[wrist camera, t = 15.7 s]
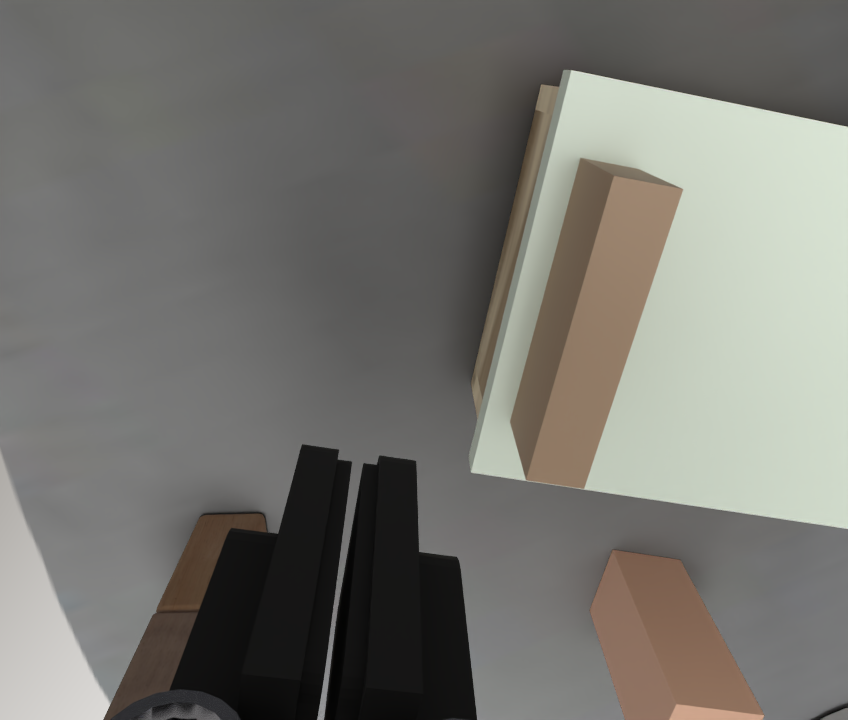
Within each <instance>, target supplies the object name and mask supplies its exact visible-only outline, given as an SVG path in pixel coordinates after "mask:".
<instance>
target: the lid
mask: <svg viewBox="0 0 848 720" xmlns="http://www.w3.org/2000/svg"><path fill="white" fill-rule="evenodd" d="M469 463H470V470H471V473H477V474H484V475H490V476H497V477H504V478H510V479H517V480H524V481H531V482H537V483H544V484H551V485H557V486H564V487H571V488H577V489H584V490H591V491H598V492H604V493H611V494H618V495H624V496H631V497H638V498H645V499H651V500H658V501H665V502H671V503H678V504H685V505H691V506H698V507H705V508H712V509H718V510H725V511H732V512H738V513H745V514H752V515H758V516H765V517H772V518H779V519H785V520H792V521H799V522H805V523H812V524H819V525H826V526H832V527H839V528H846V529H848V127H846V126H841V125H836V124H831V123H826V122H821V121H816V120H812V119H807V118H802V117H797V116H792V115H787V114H782V113H778V112H773V111H768V110H763V109H758V108H753V107H748V106H744V105H739V104H734V103H729V102H724V101H719V100H714V99H710V98H705V97H700V96H695V95H690V94H685V93H680V92H676V91H671V90H666V89H661V88H656V87H651V86H646V85H641V84H637V83H632V82H627V81H622V80H617V79H612V78H607V77H603V76H598V75H593V74H588V73H583V72H578V71H573V70H563V74H562V78H561V82H560V86H559V90H558V94H557V98H556V103H555V107H554V111H553V115H552V119H551V123H550V127H549V131H548V135H547V139H546V143H545V147H544V151H543V156H542V160H541V164H540V168H539V172H538V176H537V180H536V184H535V188H534V192H533V196H532V200H531V204H530V208H529V213H528V217H527V221H526V225H525V229H524V233H523V237H522V241H521V245H520V249H519V253H518V257H517V261H516V266H515V270H514V274H513V278H512V282H511V286H510V290H509V294H508V298H507V302H506V306H505V310H504V314H503V318H502V323H501V327H500V331H499V335H498V339H497V343H496V347H495V351H494V355H493V359H492V363H491V367H490V371H489V376H488V380H487V384H486V388H485V392H484V396H483V400H482V404H481V408H480V412H479V416H478V420H477V424H476V428H475V433H474V437H473V441H472V445H471V449H470V453H469Z"/></svg>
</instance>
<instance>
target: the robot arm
mask: <svg viewBox="0 0 848 720" xmlns="http://www.w3.org/2000/svg"><path fill="white" fill-rule="evenodd" d="M338 453H339V450H337V449H330V448H323V447H317V446H310V445H302V447H301V450H300V454H299V458H298V461H297V465H296V469H295V473H294V476H293V480H292V484H291V488H290V492H289V495H288V499H287V503H286V507H285V510H284V514H283V518H282V522H281V526H280V529H279V533H278V534H275V533H268V532H260V531H252V530H244V529H237V528H231V529H230V530H229V532H228V534H227V536H226V539H225V541H224V544H223V547H222V549H221V552H220V555H219V557H218V560H217V563H216V566H215V568H214V571H213V574H212V576H211V579H210V582H209V584H208V587H207V590H206V592H205V595H204V598H203V600H202V603H201V606H200V609H199V611H198V614H197V617H196V619H195V622H194V625H193V627H192V630H191V633H190V635H189V638H188V641H187V644H186V646H185V649H184V652H183V654H182V657H181V660H180V662H179V665H178V668H177V670H176V673H175V676H174V679H173V681H172V684H171V687H170V689H169V691H166V692H159V693H155V694H152V695H150V696H148V697H145V698H143V699H140V700H138V701H136V702H133V703H132V704H130V705H129V706H127V707H126V708H125V709H123V710H122V711H121V712H119V713H118V714H116V715H115V716H114V717H112V718H111V719H110V720H317V716H318V711H319V705H320V699H321V693H322V686H323V680H324V673H325V666H326V659H327V651H328V643H329V636H330V628H331V620H332V613H333V605H334V597H335V589H336V582H337V574H338V566H339V558H340V551H341V543H342V535H343V528H344V520H345V512H346V504H347V497H348V489H349V481H350V473H351V466H352V462H351V461H344V460H337V459H338ZM324 720H477V715H476V706H475V697H474V688H473V679H472V669H471V660H470V651H469V642H468V633H467V624H466V615H465V606H464V597H463V587H462V578H461V569H460V564H459V560H458V558H457V557H452V556H444V555H437V554H429V553H421V552H419V538H418V504H417V470H416V461H414V460H407V459H400V458H393V457H386V456H379V459H378V463H377V465H373V464H366V463H364V464H363V468H362V474H361V480H360V485H359V491H358V497H357V503H356V508H355V514H354V520H353V525H352V531H351V537H350V543H349V548H348V554H347V560H346V565H345V571H344V577H343V582H342V588H341V594H340V600H339V606H338V612H337V619H336V626H335V634H334V643H333V651H332V659H331V668H330V676H329V684H328V692H327V701H326V709H325V717H324ZM820 720H848V708H844V709H842V710H839V711H837V712H835V713H832V714H830V715H827V716H826V717H824V718H822V719H820Z"/></svg>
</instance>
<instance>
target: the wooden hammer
mask: <svg viewBox="0 0 848 720" xmlns="http://www.w3.org/2000/svg"><path fill="white" fill-rule="evenodd" d="M231 528H237V529H244V530H252V531H260V532H267V530H266V523H265V518H264V516H263V515H262V514H259V513H255V514H219V515H204V516H201V517H200V518H199V520H198V522H197V524H196V526H195V528H194V530H193V533H192V535H191V537H190V539H189V541H188V543H187V545H186V547H185V550H184V552H183V554H182V556H181V558H180V560H179V562H178V564H177V566H176V569H175V571H174V573H173V575H172V577H171V579H170V581H169V583H168V586H167V588H166V590H165V592H164V594H163V596H162V598H161V600H160V603H159V605H158V607H157V610H156V612H157V613H155V614H154V615H153V616H152V618H151V620H150V622H149V624H148V626H147V629H146V631H145V633H144V635H143V637H142V639H141V641H140V643H139V645H138V648H137V650H136V652H135V654H134V656H133V658H132V660H131V662H130V664H129V667H128V669H127V671H126V673H125V675H124V677H123V679H122V681H121V684H120V686H119V688H118V690H117V692H116V694H115V696H114V698H113V700H112V703H111V705H110V707H109V709H108V711H107V713H106V715H105V717H104V720H110V719H111V718H112V717H114V716H115V715H116V714H118V713H119V712H121V711H122V710H123V709H125V708H126V707H127V706H129V705H130V704H132V703H133V702H136V701H138V700H140V699H143V698H145V697H148V696H150V695H152V694H155V693H159V692H166V691H169V689H170V687H171V684H172V681H173V679H174V676H175V673H176V670H177V668H178V665H179V662H180V660H181V657H182V654H183V652H184V649H185V646H186V644H187V641H188V638H189V635H190V633H191V630H192V627H193V625H194V622H195V619H196V617H197V614H198V611H199V609H200V606H201V603H202V600H203V598H204V595H205V592H206V590H207V587H208V584H209V582H210V579H211V576H212V574H213V571H214V568H215V566H216V563H217V560H218V557H219V555H220V552H221V549H222V547H223V544H224V541H225V539H226V536H227V534H228V532H229V530H230V529H231Z"/></svg>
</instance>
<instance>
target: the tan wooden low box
mask: <svg viewBox="0 0 848 720" xmlns="http://www.w3.org/2000/svg"><path fill="white" fill-rule="evenodd" d="M558 90H559V87H556V86H549V85H542V84H541V87H540V92H539V96H538V100H537V104H536V109H535V113H534V117H533V121H532V126H531V130H530V134H529V138H528V143H527V147H526V151H525V155H524V160H523V164H522V168H521V172H520V177H519V181H518V185H517V189H516V194H515V198H514V202H513V206H512V211H511V215H510V219H509V223H508V228H507V232H506V236H505V240H504V245H503V249H502V253H501V257H500V262H499V266H498V270H497V274H496V279H495V283H494V287H493V291H492V296H491V300H490V304H489V308H488V313H487V317H486V321H485V325H484V330H483V334H482V338H481V342H480V347H479V351H478V355H477V359H476V364H475V368H474V372H473V376H472V381H471V387H472V392H473V398H474V403H475V408H476V414H477V419H478V416H479V412H480V408H481V404H482V400H483V396H484V392H485V388H486V384H487V380H488V376H489V371H490V367H491V363H492V359H493V355H494V351H495V347H496V343H497V339H498V335H499V331H500V327H501V323H502V318H503V314H504V310H505V306H506V302H507V298H508V294H509V290H510V286H511V282H512V278H513V274H514V270H515V266H516V261H517V257H518V253H519V249H520V245H521V241H522V237H523V233H524V229H525V225H526V221H527V217H528V213H529V208H530V204H531V200H532V196H533V192H534V188H535V184H536V180H537V176H538V172H539V168H540V164H541V160H542V156H543V151H544V147H545V143H546V139H547V135H548V131H549V127H550V123H551V119H552V115H553V111H554V107H555V103H556V98H557V94H558Z"/></svg>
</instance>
